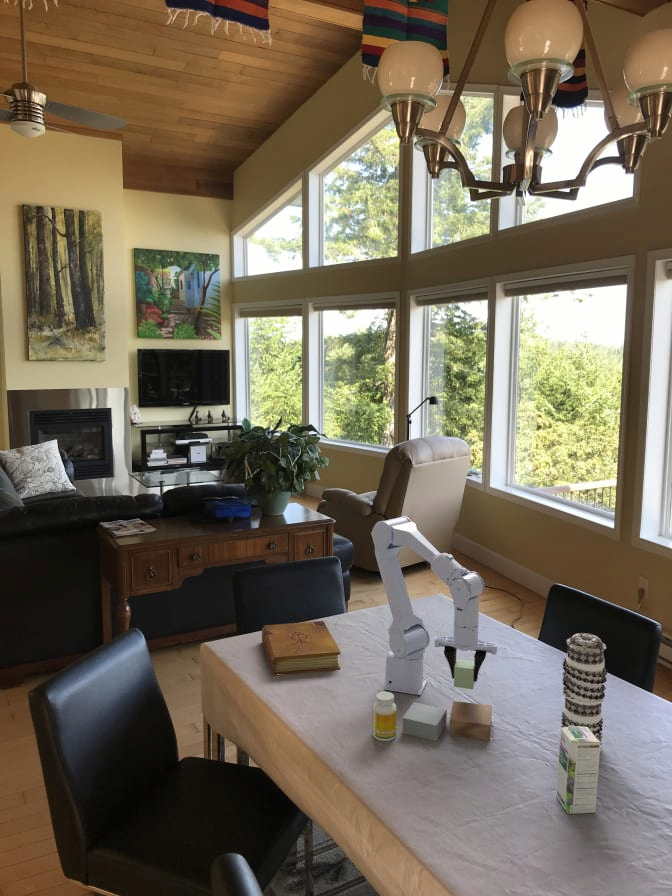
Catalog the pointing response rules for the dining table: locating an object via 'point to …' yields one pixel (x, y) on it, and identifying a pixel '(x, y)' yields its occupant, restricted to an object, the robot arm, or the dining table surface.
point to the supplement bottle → (384, 717)
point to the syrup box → (578, 770)
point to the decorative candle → (584, 683)
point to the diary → (300, 648)
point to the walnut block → (470, 720)
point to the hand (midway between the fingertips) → (464, 678)
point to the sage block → (464, 674)
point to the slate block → (424, 721)
